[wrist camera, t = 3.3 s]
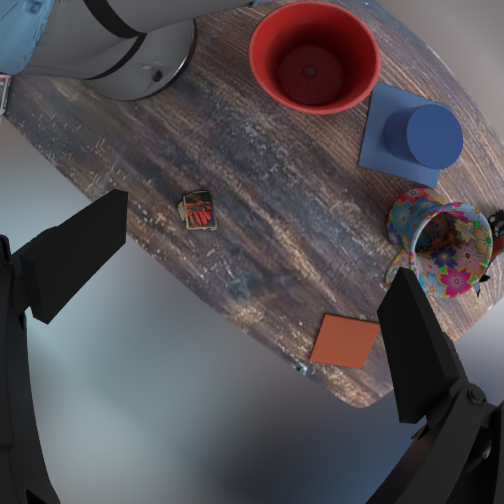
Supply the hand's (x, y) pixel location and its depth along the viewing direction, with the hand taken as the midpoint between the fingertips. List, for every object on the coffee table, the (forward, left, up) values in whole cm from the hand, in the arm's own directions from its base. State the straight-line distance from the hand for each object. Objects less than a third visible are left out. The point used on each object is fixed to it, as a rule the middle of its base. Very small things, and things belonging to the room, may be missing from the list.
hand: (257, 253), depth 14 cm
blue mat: (-9, +13, -23) cm, 27 cm away
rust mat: (+19, +13, -23) cm, 32 cm away
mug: (+2, +16, -23) cm, 28 cm away
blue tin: (-9, +13, -22) cm, 27 cm away
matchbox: (+5, -9, -23) cm, 25 cm away
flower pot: (-13, +1, -23) cm, 26 cm away
